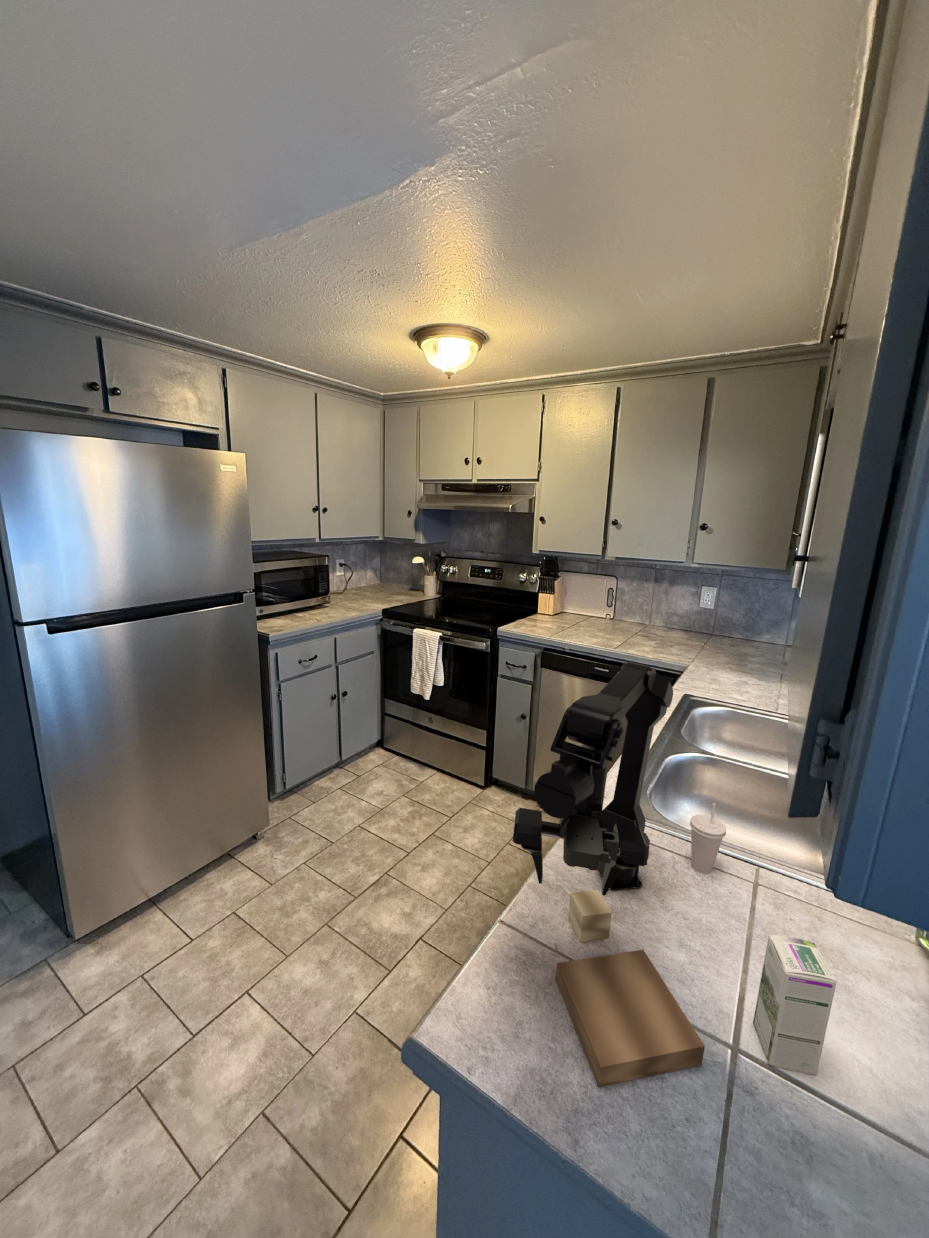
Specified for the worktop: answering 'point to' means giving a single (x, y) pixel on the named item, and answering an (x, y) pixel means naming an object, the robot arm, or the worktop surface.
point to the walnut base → (626, 1017)
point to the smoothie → (705, 841)
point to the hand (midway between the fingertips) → (571, 887)
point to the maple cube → (589, 915)
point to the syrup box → (793, 1004)
